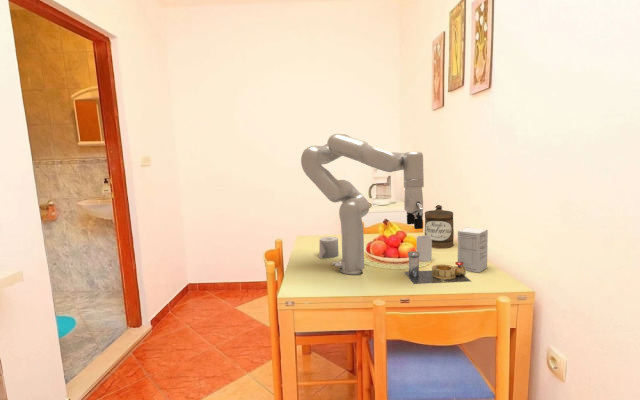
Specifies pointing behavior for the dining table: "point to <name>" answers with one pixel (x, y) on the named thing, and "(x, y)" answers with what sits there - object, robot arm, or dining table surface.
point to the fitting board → (431, 279)
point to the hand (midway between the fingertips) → (414, 226)
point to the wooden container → (439, 227)
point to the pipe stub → (413, 263)
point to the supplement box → (473, 249)
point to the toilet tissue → (328, 247)
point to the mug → (424, 248)
